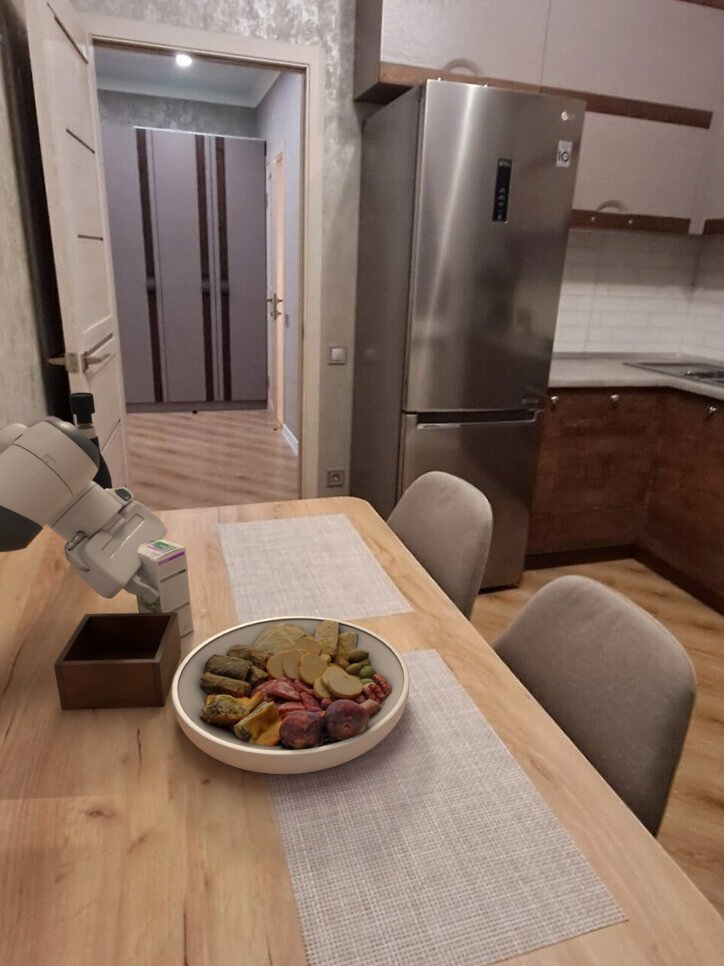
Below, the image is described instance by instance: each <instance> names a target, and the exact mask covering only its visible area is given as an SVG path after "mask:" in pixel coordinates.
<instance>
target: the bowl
mask: <svg viewBox="0 0 724 966" xmlns="http://www.w3.org/2000/svg"><path fill="white" fill-rule="evenodd" d="M410 678H411V677H410V672H409V668H408V665H407V663H406V661H405V659H404V657H403V656H402V654H401V653H400V652H399V651H398V649H397V648H396V647H395V646H394V645H393V644H392V643H390V642H389V641H388V640H387V639H386V638H384V637H383V636H381V635H379V634H377V632H374V631H372V630H370V629H369V628H366V627H364V626H361V625H358V624H356V623H355V624H354V623H352V622H348V621H344V620H340V619H336V618H330V617H324V616H312V615H286V616H285V615H284V616H275V617H269V618H268V617H267V618H262V619H257V620H251V621H249V622H244V623H242V624H239V625H236V626H233V627H230V628H228V629H225V630H223V631H221V632H219V633H216V634H214V635H213V636H211V637H209V638H207V639H206V640H204V641H203V642H201V643H200V644H199V645H197V646H196V647H194V648H193V649H192V650H191V651H190V652H189V654H187V655H186V656H185V658H183V660H182V661H181V662H180V664H179V665H178V666H177V668H176V671H175V674H174V677H173V680H172V683H171V691H170V693H171V703H172V709H173V712H174V714H175V718H176V720H177V722H178V724H179V726H180V728H181V730H182V732H183V733H184V734H185V735H186V736H187V738H188V739H189V741H191V742H192V743H193V744H194V746H196V747H197V748H199V749H200V750H201V751H203V752H204V753H205V754H207V755H209V756H210V757H211V758H213V759H215V760H217V761H220V762H221V763H224V764H226V765H228V766H232V767H235V768H238V769H241V770H245V771H249V772H255V773H260V774H269V775H270V774H271V775H296V774H297V775H298V774H306V773H313V772H317V771H323V770H327V769H330V768H333V767H337V766H340V765H343V764H345V763H347V762H350V761H352V760H354V759H356V758H358V757H360V756H362V755H364V754H365V753H367V752H368V751H370V750H372V749H373V748H374V747H376V746H377V745H378V744H379V743H380V742H382V741H383V740H384V739H385V738H386V737H387V736H388V735H389V734H390V733H391V732H392V731H393V729H394V728H395V727H396V725H397V724H398V722H400V720H401V718H402V715H403V713H404V711H405V708H406V707H407V703H408V699H409V694H410V681H411V680H410Z"/></svg>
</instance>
